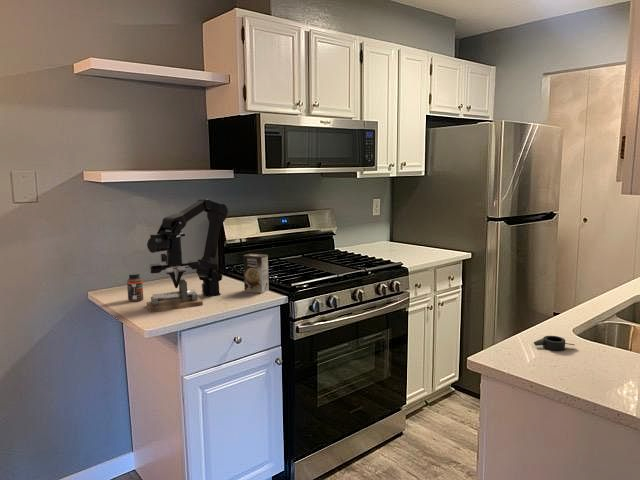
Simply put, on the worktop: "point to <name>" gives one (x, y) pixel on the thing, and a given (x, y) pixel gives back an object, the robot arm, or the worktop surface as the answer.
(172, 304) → the board
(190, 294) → the pipe rig
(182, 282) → the slotted grey bracket
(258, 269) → the coffee box
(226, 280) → the worktop surface
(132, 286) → the supplement bottle
